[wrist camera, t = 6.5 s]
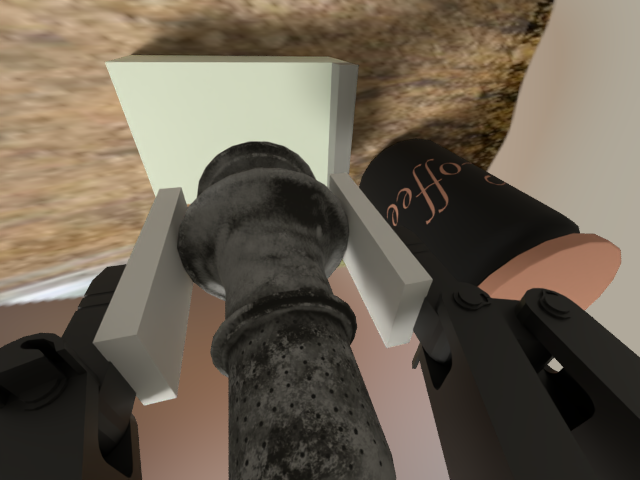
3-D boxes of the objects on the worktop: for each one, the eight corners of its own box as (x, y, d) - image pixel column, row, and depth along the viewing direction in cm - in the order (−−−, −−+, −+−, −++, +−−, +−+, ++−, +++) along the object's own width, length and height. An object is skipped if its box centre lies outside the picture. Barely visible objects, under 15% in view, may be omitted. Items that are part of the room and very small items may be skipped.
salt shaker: (211, 261, 14) (178, 737, 5) (166, 143, 10) (-452, 1300, 1) (325, 239, 15) (487, 589, 6) (321, 124, 11) (763, 581, 2)
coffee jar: (443, 118, 28) (660, 211, 14) (441, 204, 34) (585, 324, 21) (344, 157, 27) (463, 290, 13) (362, 236, 34) (453, 378, 20)
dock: (170, 178, 24) (155, 218, 19) (130, 55, 19) (94, 65, 14) (324, 166, 27) (346, 197, 22) (328, 56, 22) (358, 65, 17)
